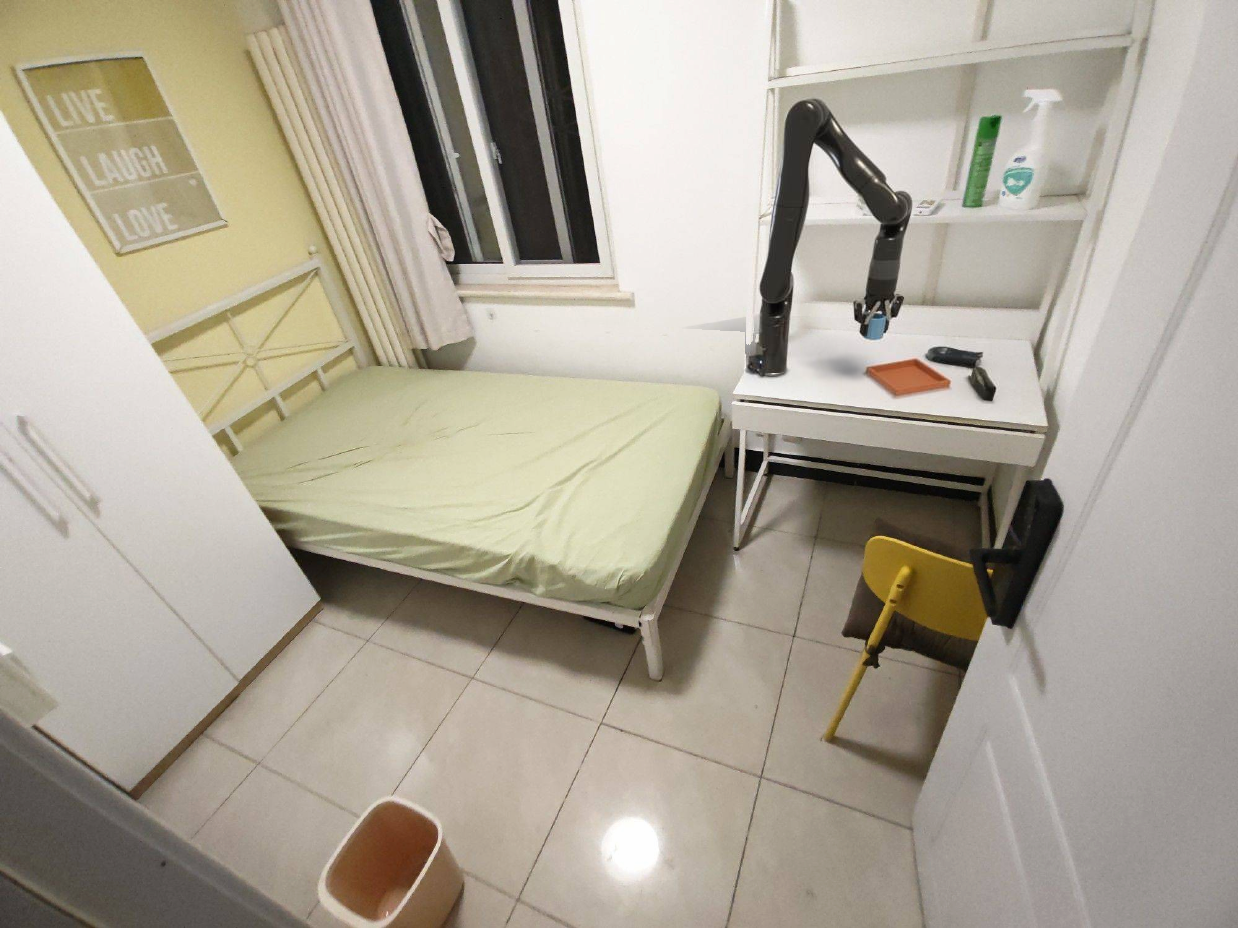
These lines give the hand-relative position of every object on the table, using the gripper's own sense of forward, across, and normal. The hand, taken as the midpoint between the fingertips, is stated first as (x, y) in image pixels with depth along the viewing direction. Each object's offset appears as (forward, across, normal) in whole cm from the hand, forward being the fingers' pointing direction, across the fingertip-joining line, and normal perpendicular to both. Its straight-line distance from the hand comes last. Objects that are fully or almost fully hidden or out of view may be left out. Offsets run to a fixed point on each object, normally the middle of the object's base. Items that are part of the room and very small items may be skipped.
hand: (873, 333), depth 160 cm
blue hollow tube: (+1, 0, 0) cm, 1 cm away
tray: (+17, -13, +1) cm, 21 cm away
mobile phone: (+17, -28, +13) cm, 35 cm away
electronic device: (+17, -33, -6) cm, 37 cm away
